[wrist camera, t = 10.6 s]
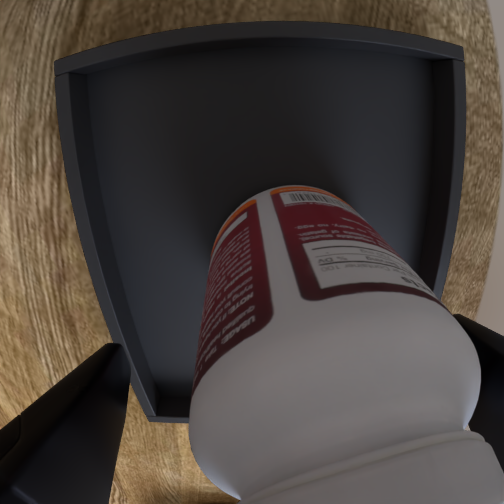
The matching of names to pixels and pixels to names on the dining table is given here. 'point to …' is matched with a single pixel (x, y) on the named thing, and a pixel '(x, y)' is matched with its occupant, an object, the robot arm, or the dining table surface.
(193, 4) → the dining table surface
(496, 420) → the robot arm
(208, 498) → the dining table surface
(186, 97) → the tray
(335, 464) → the pill bottle
